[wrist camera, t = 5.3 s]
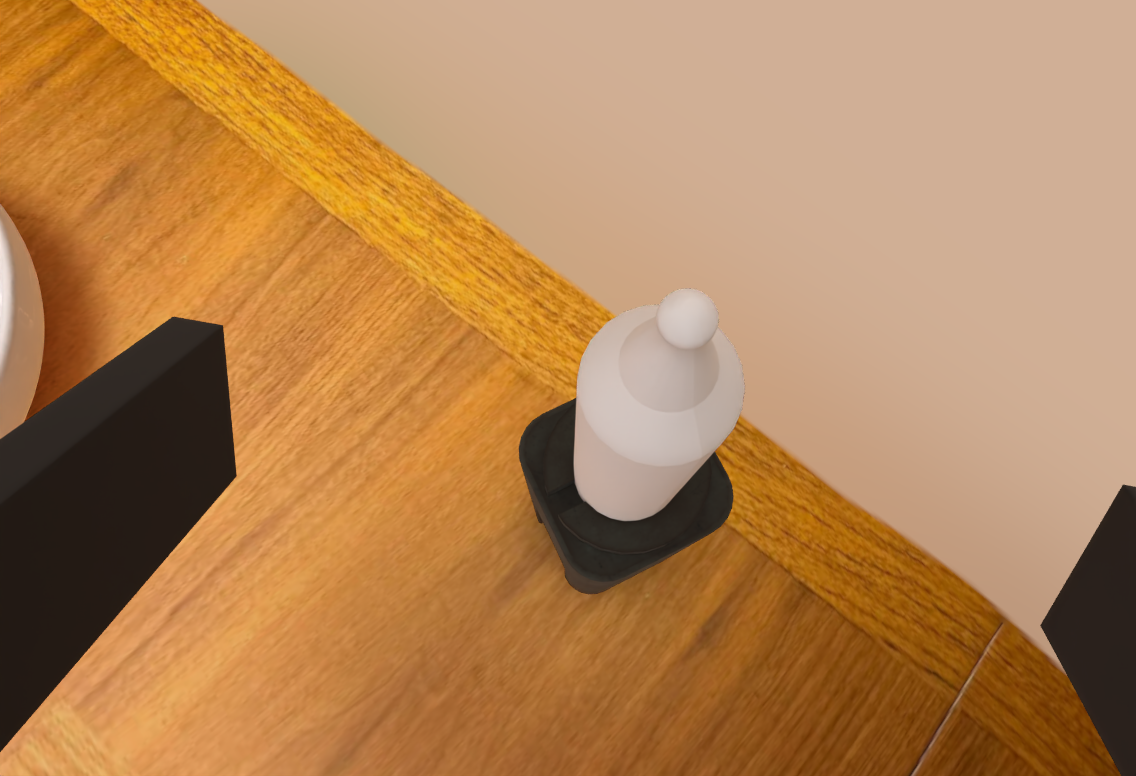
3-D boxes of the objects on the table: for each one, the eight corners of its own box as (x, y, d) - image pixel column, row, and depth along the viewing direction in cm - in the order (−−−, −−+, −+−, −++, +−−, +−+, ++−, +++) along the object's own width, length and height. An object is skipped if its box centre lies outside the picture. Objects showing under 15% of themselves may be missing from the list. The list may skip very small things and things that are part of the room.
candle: (684, 550, 34) (963, 392, 10) (578, 604, 33) (606, 574, 9) (629, 445, 35) (763, 85, 11) (526, 495, 35) (435, 227, 11)
